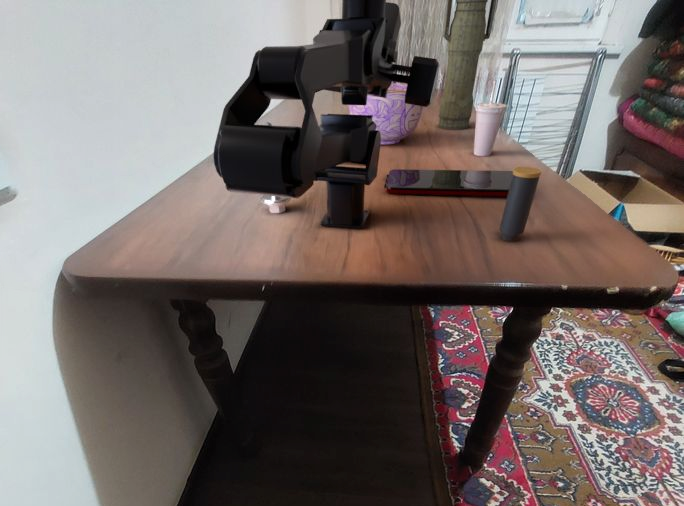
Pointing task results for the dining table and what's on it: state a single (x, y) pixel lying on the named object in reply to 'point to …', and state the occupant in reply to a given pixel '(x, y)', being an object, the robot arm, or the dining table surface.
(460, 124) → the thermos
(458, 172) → the smartphone
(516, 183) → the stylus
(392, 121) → the bowl of food
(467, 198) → the dining table surface
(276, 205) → the screw
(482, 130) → the smoothie
